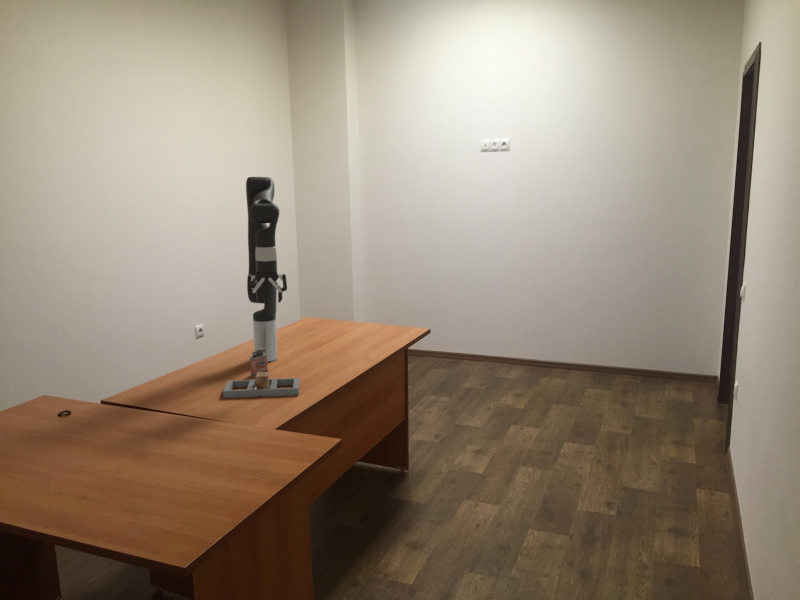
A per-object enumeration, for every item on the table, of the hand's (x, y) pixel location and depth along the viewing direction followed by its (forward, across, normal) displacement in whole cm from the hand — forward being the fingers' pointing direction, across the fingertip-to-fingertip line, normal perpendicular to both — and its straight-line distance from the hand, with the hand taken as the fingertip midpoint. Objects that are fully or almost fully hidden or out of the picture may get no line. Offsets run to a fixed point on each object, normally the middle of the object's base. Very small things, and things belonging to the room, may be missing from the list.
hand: (267, 302), depth 236 cm
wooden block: (+30, -2, -12) cm, 32 cm away
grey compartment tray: (+30, -2, -12) cm, 32 cm away
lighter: (+30, -5, +8) cm, 32 cm away
